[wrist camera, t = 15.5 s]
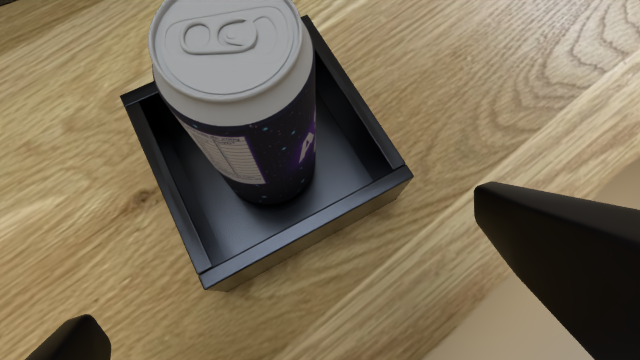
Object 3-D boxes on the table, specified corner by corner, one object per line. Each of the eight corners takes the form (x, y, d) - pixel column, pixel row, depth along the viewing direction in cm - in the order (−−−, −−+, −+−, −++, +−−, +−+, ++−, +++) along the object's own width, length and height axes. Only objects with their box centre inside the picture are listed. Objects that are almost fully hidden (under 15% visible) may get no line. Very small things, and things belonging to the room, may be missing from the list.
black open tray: (396, 199, 23) (414, 176, 19) (226, 292, 21) (204, 290, 17) (308, 61, 26) (307, 14, 22) (153, 131, 24) (119, 95, 20)
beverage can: (318, 205, 22) (321, 106, 11) (224, 210, 22) (125, 116, 11) (312, 121, 24) (310, -41, 13) (225, 125, 24) (142, -34, 12)
